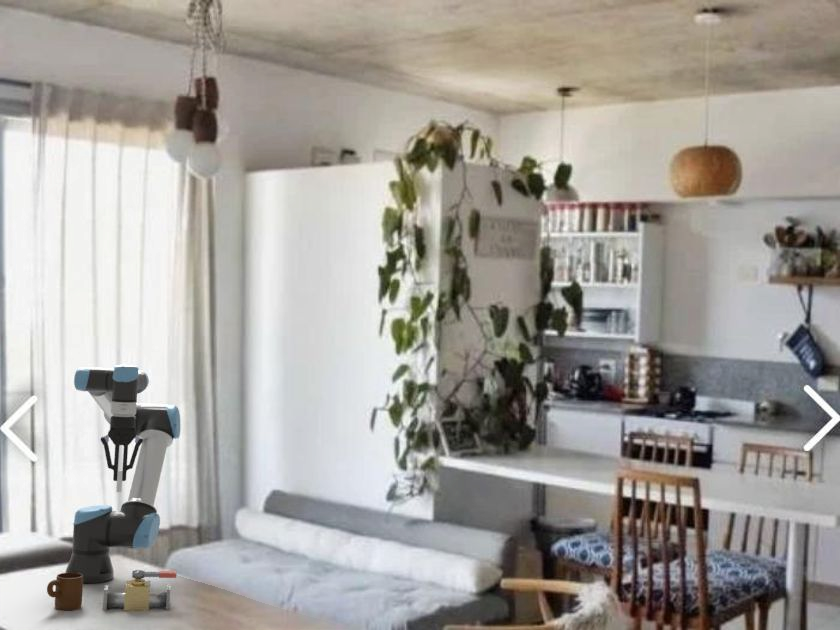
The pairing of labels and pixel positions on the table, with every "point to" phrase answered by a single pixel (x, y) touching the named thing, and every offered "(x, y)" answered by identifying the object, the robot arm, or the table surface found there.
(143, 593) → the valve pipe
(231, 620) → the table surface
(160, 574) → the lever
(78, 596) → the mug
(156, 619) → the table surface
